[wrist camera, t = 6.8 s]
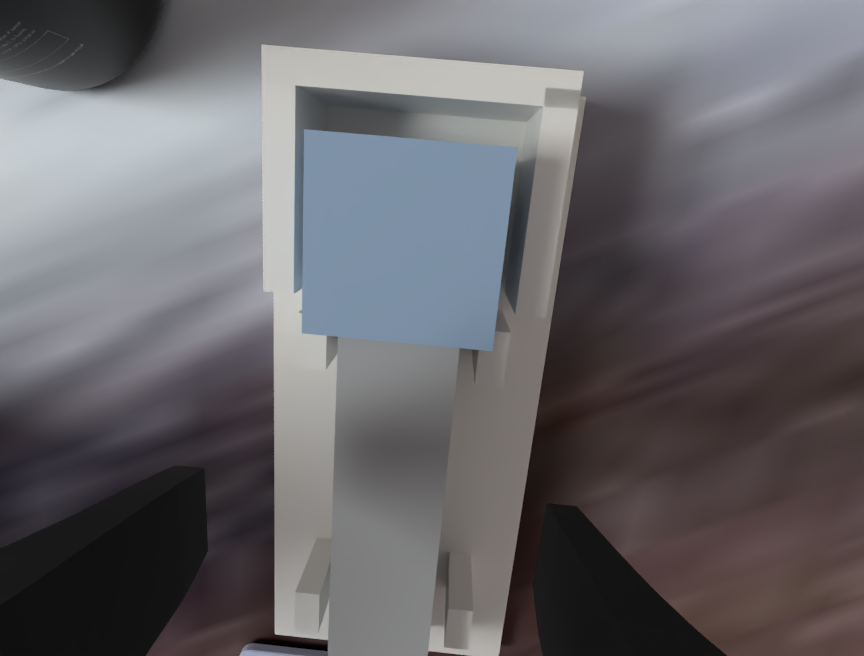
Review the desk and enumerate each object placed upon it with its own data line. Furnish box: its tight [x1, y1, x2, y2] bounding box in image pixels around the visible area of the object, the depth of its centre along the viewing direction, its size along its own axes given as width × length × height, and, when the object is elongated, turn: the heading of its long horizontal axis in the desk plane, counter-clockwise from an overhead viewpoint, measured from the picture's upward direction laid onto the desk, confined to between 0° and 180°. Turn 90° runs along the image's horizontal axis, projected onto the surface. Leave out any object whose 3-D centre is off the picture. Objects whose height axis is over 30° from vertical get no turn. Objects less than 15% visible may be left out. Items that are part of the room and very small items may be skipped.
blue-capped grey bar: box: [302, 129, 518, 656], centre depth 15 cm, size 18×4×4 cm, turn 175°
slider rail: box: [261, 44, 586, 656], centre depth 16 cm, size 21×9×4 cm, turn 175°
